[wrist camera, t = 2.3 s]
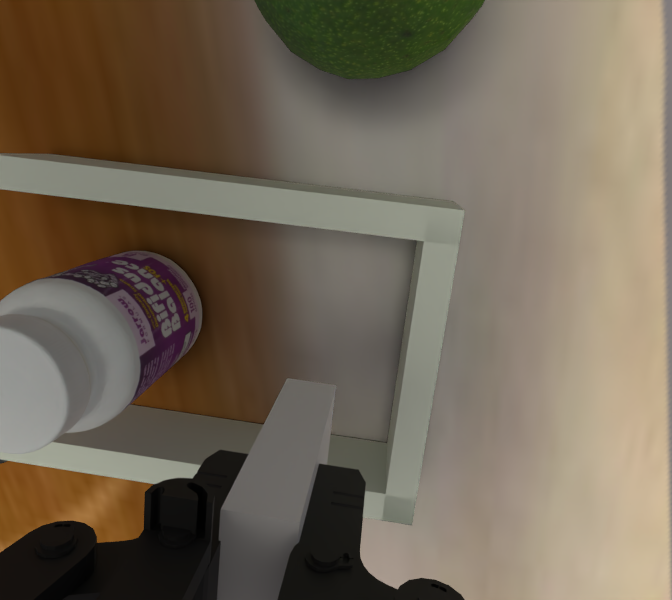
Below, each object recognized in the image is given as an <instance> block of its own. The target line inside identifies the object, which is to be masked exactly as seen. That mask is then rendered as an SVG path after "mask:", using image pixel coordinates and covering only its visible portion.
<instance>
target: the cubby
mask: <svg viewBox="0 0 672 600" xmlns="http://www.w3.org/2000/svg"><path fill="white" fill-rule="evenodd" d="M0 189H4V190H12V191H20V192H28V193H36V194H44V195H52V196H61V197H69V198H77V199H85V200H93V201H101V202H109V203H117V204H125V205H134V206H142V207H150V208H158V209H166V210H174V211H182V212H190V213H198V214H207V215H215V216H223V217H231V218H239V219H247V220H255V221H263V222H271V223H280V224H288V225H296V226H304V227H312V228H320V229H328V230H336V231H345V232H353V233H361V234H369V235H377V236H385V237H393V238H401V239H409V240H417V244H416V251H415V257H414V264H413V271H412V278H411V284H410V291H409V298H408V305H407V311H406V318H405V325H404V332H403V338H402V345H401V352H400V359H399V365H398V372H397V379H396V386H395V392H394V399H393V406H392V413H391V419H390V426H389V433H388V439H387V443H384V442H377V441H370V440H364V439H357V438H350V437H344V436H337V435H330V443H329V452H328V460H327V465H332V466H338V467H345V468H351V469H358V470H359V471H360V473H361V475H362V477H363V478H364V480H365V482H366V487H365V498H364V508H363V518H370V519H376V520H382V521H388V522H395V523H401V524H407V525H412V522H413V516H414V510H415V504H416V498H417V492H418V486H419V480H420V474H421V468H422V462H423V456H424V450H425V445H426V439H427V433H428V427H429V421H430V415H431V409H432V403H433V397H434V391H435V385H436V379H437V373H438V367H439V362H440V356H441V350H442V344H443V338H444V332H445V326H446V320H447V314H448V308H449V302H450V296H451V290H452V285H453V279H454V273H455V267H456V261H457V255H458V249H459V243H460V237H461V231H462V225H463V219H464V213H465V210H464V209H462V208H461V207H460V206H458V205H457V204H456V203H454V202H453V201H446V200H438V199H429V198H421V197H412V196H404V195H395V194H387V193H378V192H370V191H361V190H353V189H344V188H336V187H327V186H319V185H310V184H302V183H293V182H285V181H276V180H268V179H259V178H251V177H242V176H234V175H225V174H217V173H208V172H200V171H191V170H183V169H174V168H166V167H157V166H149V165H140V164H132V163H123V162H115V161H106V160H98V159H89V158H81V157H72V156H64V155H55V154H15V153H0ZM263 425H264V424H257V423H250V422H244V421H237V420H230V419H224V418H217V417H210V416H204V415H197V414H190V413H184V412H177V411H170V410H164V409H157V408H150V407H144V406H137V405H128V406H127V407H126V408H125V409H124V410H123V411H122V412H121V413H120V414H118V415H117V416H116V417H114V418H113V419H111V420H110V421H108V422H107V423H105V424H103V425H101V426H98V427H96V428H93V429H90V430H86V431H82V432H73V433H64V434H63V435H61V436H60V437H58V438H57V439H56V440H54V441H53V442H51V443H50V444H48V445H47V446H45V447H43V448H41V449H39V450H36V451H34V452H30V453H25V454H9V453H3V452H0V459H1V460H7V461H14V462H20V463H26V464H32V465H39V466H45V467H51V468H57V469H64V470H70V471H76V472H82V473H89V474H95V475H101V476H107V477H114V478H120V479H126V480H132V481H139V482H145V483H151V484H157V483H159V482H161V481H164V480H168V479H173V478H192V479H193V477H194V475H195V474H197V471H198V469H199V468H200V466H201V465H202V463H203V462H204V460H205V459H206V458H207V457H209V456H211V455H212V454H214V453H215V452H217V451H219V450H226V451H232V452H239V453H245V454H249V452H250V450H251V449H252V447H253V445H254V443H255V441H256V439H257V437H258V435H259V433H260V431H261V429H262V427H263Z"/></svg>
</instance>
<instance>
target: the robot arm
mask: <svg viewBox="0 0 672 600" xmlns="http://www.w3.org/2000/svg"><path fill="white" fill-rule="evenodd" d="M335 393H336V385H332V384H325V383H318V382H311V381H304V380H298V379H291V378H287V379H286V381H285V383H284V385H283V387H282V389H281V391H280V393H279V395H278V397H277V399H276V401H275V403H274V405H273V407H272V409H271V411H270V413H269V415H268V417H267V419H266V421H265V423H264V425H263V427H262V429H261V431H260V433H259V435H258V437H257V439H256V441H255V443H254V445H253V447H252V449H251V450H250V452H249V454H245V453H239V452H232V451H226V450H219V451H217V452H215V453H214V454H212V455H211V456H209V457H207V458H206V459H205V460H204V462H203V463H202V465H201V466H200V468H199V469H198V471H197V474H195V475H194V477H193V479H192V478H173V479H168V480H164V481H161V482H159V483H157V484H154V485H153V486H151V487H150V488H149V489H148V490H147V491H146V492H145V508H144V530H143V532H142V533H141V535H140V536H139V538H136V539H133V540H127V541H119V542H104V543H97V536H96V534H95V532H94V530H93V528H91V527H90V526H88V525H86V524H85V523H81V522H76V521H58V522H54V523H50V524H47V525H43V526H41V527H39V528H37V529H35V530H33V531H31V532H29V533H28V534H26V535H25V536H24V537H22V538H21V539H19V540H18V541H16V542H15V543H13V544H12V545H11V546H9V547H8V548H6V549H5V550H3V551H2V552H1V553H0V600H464V598H463V597H462V595H461V594H459V593H458V592H457V591H455V590H454V589H453V588H452V587H450V586H449V585H446V584H444V583H442V582H439V581H437V580H432V579H425V578H419V579H413V580H409V581H407V582H406V583H404V584H402V585H401V586H400V587H399V589H395V588H393V587H391V586H389V585H386V584H385V583H383V582H381V581H379V580H377V579H376V578H375V577H374V576H372V575H371V574H370V573H369V572H368V571H367V569H366V568H365V567H364V566H363V563H362V561H361V559H360V542H361V531H362V520H363V508H364V498H365V487H366V482H365V480H364V478H363V477H362V475H361V473H360V471H359V470H358V469H351V468H345V467H338V466H332V465H327V460H328V452H329V443H330V435H331V426H332V418H333V410H334V401H335Z"/></svg>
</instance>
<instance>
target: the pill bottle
mask: <svg viewBox="0 0 672 600" xmlns="http://www.w3.org/2000/svg"><path fill="white" fill-rule="evenodd" d="M201 325H202V305H201V300H200V297H199V295H198V292H197V290H196V288H195V286H194V284H193V282H192V281H191V279H190V278H189V277H188V275H187V274H186V272H185V271H184V270H182V269H181V268H180V267H179V266H178V265H177V264H176V263H175V262H173V261H172V260H170V259H168V258H166V257H164V256H162V255H159V254H157V253H153V252H148V251H128V252H123V253H120V254H116V255H113V256H109V257H106V258H103V259H99V260H96V261H93V262H90V263H87V264H84V265H81V266H78V267H75V268H73V269H70V270H67V271H64V272H61V273H58V274H54V275H52V276H49V277H46V278H42V279H38V280H35V281H32V282H30V283H28V284H26V285H24V286H22V287H20V288H18V289H16V290H14V291H13V292H11V293H10V294H8V295H7V296H6V297H5V298H3V299H2V300H1V301H0V452H3V453H9V454H25V453H30V452H34V451H36V450H39V449H41V448H43V447H45V446H47V445H48V444H50V443H51V442H53V441H54V440H56V439H57V438H58V437H60V436H61V435H63V434H64V433H73V432H82V431H86V430H90V429H93V428H96V427H98V426H101V425H103V424H105V423H107V422H108V421H110V420H111V419H113V418H114V417H116V416H117V415H118V414H120V413H121V412H122V411H123V410H124V409H125V408H126V407H127V406H128V405H130V404H131V403H132V402H133V401H134V400H135V399H137V398H138V397H139V396H140V395H141V394H142V393H143V392H144V391H145V390H147V389H148V388H149V387H150V386H151V385H152V384H153V383H154V382H155V381H156V380H158V379H159V378H160V377H161V376H162V375H163V374H164V373H165V372H167V371H168V370H169V369H170V368H171V367H172V366H173V365H174V364H175V363H176V362H177V361H178V360H179V359H180V358H181V357H183V356H184V355H185V354H186V353H187V352H188V351H189V349H190V348H191V347H192V346H193V344H194V342H195V341H196V339H197V337H198V334H199V332H200V329H201Z"/></svg>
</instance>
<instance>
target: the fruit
mask: <svg viewBox="0 0 672 600" xmlns="http://www.w3.org/2000/svg"><path fill="white" fill-rule="evenodd" d="M484 1H485V0H255V2H256V4H257V6H258V8H259V10H260V12H261V13H262V15H263V17H264V18H265V20H266V22H267V23H268V24H269V25H270V26H271V28H272V29H273V30H274V31H275V32H276V34H277V35H278V36H279V37H280V39H281V40H282V41H283V42H284V43H285V45H286V46H287V47H288V48H289V49H290V51H291V52H293V53H294V54H296V55H298V56H299V57H301V58H302V59H304V60H305V61H307V62H309V63H310V64H312V65H313V66H315V67H317V68H318V69H320V70H323V71H326V72H329V73H332V74H335V75H338V76H341V77H343V78H346V79H369V78H380V77H384V76H388V75H392V74H396V73H400V72H404V71H408V70H411V69H413V68H414V67H416V66H418V65H419V64H421V63H423V62H424V61H426V60H428V59H429V58H431V57H433V56H434V55H436V54H438V53H439V52H441V51H443V50H444V49H446V47H447V46H448V45H449V44H450V43H451V42H452V41H453V40H454V38H455V37H456V36H457V35H458V34H459V33H460V32H461V31H462V29H463V28H464V27H465V26H466V25H467V24H468V23H469V22H470V20H471V19H472V18H473V17H474V16H475V14H476V13H477V12H478V10H479V9H480V8H481V6H482V5H483V3H484Z"/></svg>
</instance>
